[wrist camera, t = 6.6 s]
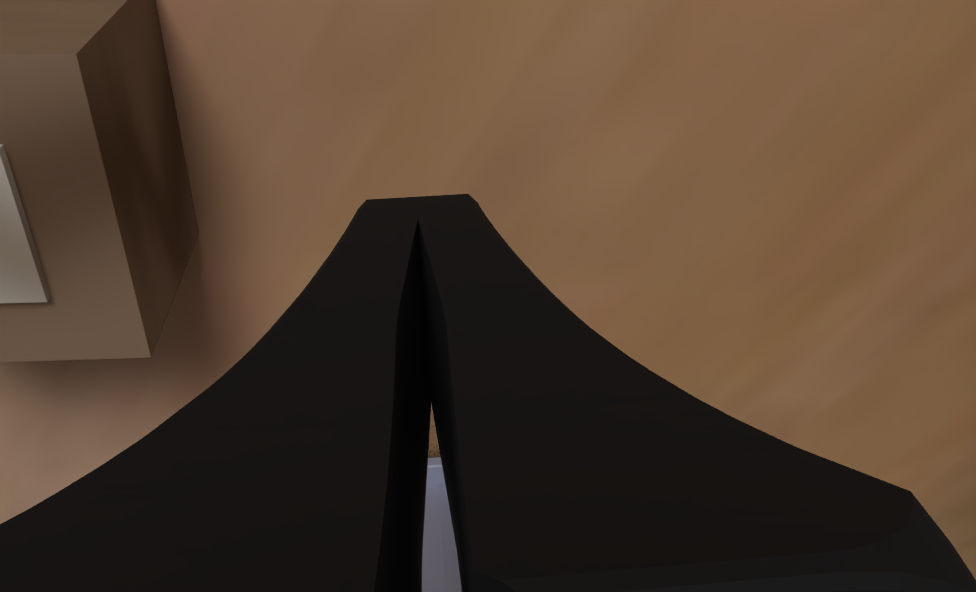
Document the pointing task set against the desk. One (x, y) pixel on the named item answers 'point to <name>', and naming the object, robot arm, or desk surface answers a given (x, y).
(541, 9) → the desk surface
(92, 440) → the desk surface
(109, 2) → the walnut block
